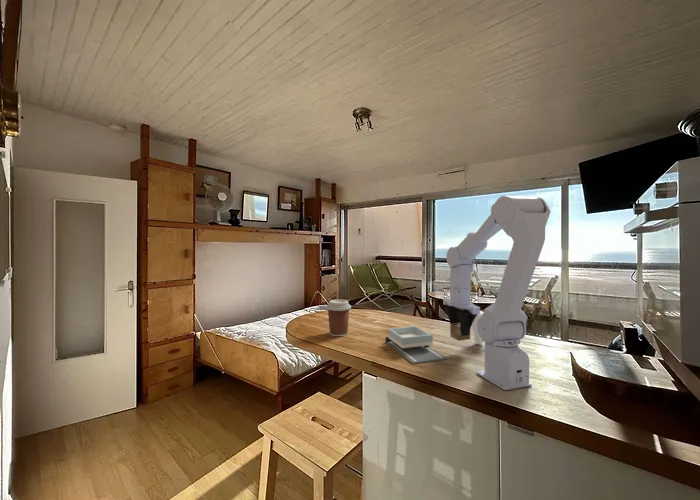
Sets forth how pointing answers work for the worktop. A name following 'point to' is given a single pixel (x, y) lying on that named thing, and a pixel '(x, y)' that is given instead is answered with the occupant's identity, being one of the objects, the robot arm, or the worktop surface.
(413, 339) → the white shallow tray
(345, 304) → the coffee cup
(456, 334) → the block
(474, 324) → the lightbulb
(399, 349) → the track
